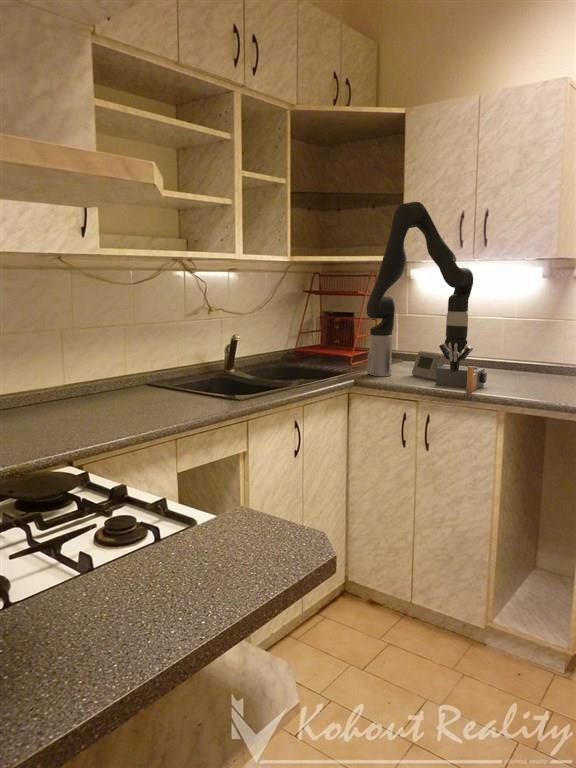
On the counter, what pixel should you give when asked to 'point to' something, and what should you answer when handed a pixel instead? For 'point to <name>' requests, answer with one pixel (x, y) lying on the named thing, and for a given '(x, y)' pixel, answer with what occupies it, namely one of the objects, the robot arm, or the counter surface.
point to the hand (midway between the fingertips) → (454, 371)
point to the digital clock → (427, 364)
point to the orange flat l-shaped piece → (471, 380)
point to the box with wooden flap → (458, 376)
